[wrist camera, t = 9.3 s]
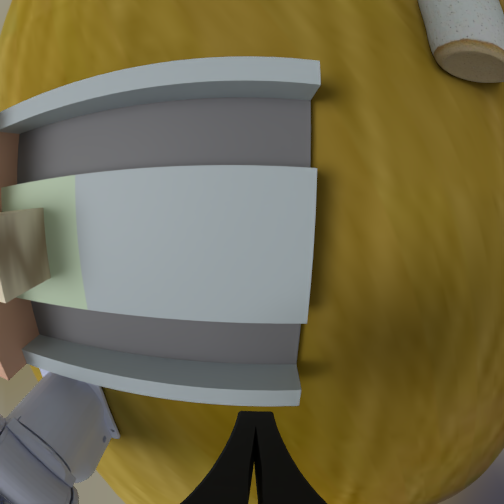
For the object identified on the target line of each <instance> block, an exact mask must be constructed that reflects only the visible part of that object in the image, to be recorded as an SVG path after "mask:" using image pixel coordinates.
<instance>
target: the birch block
mask: <svg viewBox="0 0 504 504" xmlns="http://www.w3.org/2000/svg"><path fill="white" fill-rule="evenodd" d="M50 278H51V275H50V269H49V262H48V255H47V247H46V238H45V226H44V211H43V208H32V209H22V210H13V211H4V212H0V302H3V303H7V302H9V301H11V300H12V299H14V298H16V297H17V296H19V295H21V294H23V293H24V292H26V291H28V290H30V289H32V288H33V287H35V286H37V285H39V284H41V283H42V282H44V281H46V280H48V279H50Z"/></svg>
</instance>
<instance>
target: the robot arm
mask: <svg viewBox="0 0 504 504" xmlns="http://www.w3.org/2000/svg"><path fill="white" fill-rule="evenodd" d="M39 369H40V371H41V374H42V376H43V378H42V379H41V380H40V381H39V382H38V383H37V385H36V386H35V387H34V388H33V389H32V390H31V391H30V392H29V393H28V394H27V395H26V396H25V398H23V400H22V401H21V402H20V403H19V404H18V405H17V406H16V407H15V408H14V410H13V411H12V412H11V413H10V414H9V415H8V416H7V417H6V418H3V416H2V415H1V414H0V504H11V503H12V504H79V497H78V492H77V490H76V488H75V487H74V486H73V484H74V483H79V482H82V481H84V480H86V479H88V478H89V477H90V476H91V475H92V474H93V473H94V471H95V469H96V467H97V465H98V463H99V461H100V459H101V457H102V455H103V453H104V451H105V449H106V447H107V445H108V443H109V441H110V440H111V438H115V439H119V438H120V434H119V432H118V429H117V427H116V424H115V422H114V420H113V417H112V415H111V412H110V410H109V407H108V404H107V402H106V399H105V396H104V393H103V390H102V388H101V386H98V385H94V384H90V383H86V382H82V381H79V380H75V379H72V378H68V377H65V376H62V375H59V374H55V373H52V372H49V371H46V370H44V369H41V368H39ZM254 464H255V475H256V486H257V496H258V504H327V503H326V502H325V501H324V500H323V499H322V498H321V497H320V496H319V495H318V494H317V493H316V491H315V490H314V489H313V488H312V487H311V485H310V484H309V483H308V482H307V480H306V479H305V478H304V476H303V475H302V474H301V472H300V471H299V469H298V468H297V466H296V464H295V463H294V461H293V459H292V458H291V456H290V454H289V452H288V450H287V448H286V446H285V444H284V442H283V440H282V438H281V436H280V433H279V431H278V428H277V425H276V422H275V419H274V414H273V413H272V412H256V411H240V412H239V413H238V416H237V420H236V423H235V426H234V429H233V431H232V433H231V436H230V438H229V440H228V442H227V444H226V446H225V448H224V449H223V451H222V453H221V455H220V456H219V458H218V459H217V461H216V463H215V464H214V466H213V467H212V469H211V470H210V471H209V473H208V474H207V475H206V477H205V478H204V479H203V480H202V482H201V483H200V484H199V485H198V486H197V487H196V488H195V490H194V491H193V492H192V493H191V494H190V495H189V496H188V497H187V498H186V499H185V500H184V501H183V502H181V503H180V504H248V500H249V493H250V486H251V479H252V472H253V465H254ZM5 498H6V499H5Z"/></svg>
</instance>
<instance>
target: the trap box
mask: <svg viewBox="0 0 504 504" xmlns="http://www.w3.org/2000/svg"><path fill="white" fill-rule="evenodd" d="M320 85H321V78H320V61H316V60H306V59H295V58H280V57H214V58H199V59H188V60H178V61H170V62H163V63H156V64H150V65H144V66H138V67H133V68H128V69H123V70H119V71H114V72H110V73H106V74H102V75H98V76H95V77H91V78H87V79H84V80H80V81H77V82H74V83H71V84H68V85H65V86H62V87H59V88H56V89H53V90H50V91H48V92H45V93H43V94H40V95H37V96H35V97H33V98H30V99H28V100H25V101H23V102H21V103H19V104H16V105H14V106H12V107H10V108H8V109H6V110H4V111H2V112H0V212H4V211H13V210H22V209H32V208H43V211H44V226H45V238H46V247H47V255H48V262H49V269H50V275H51V278H50V279H48V280H46V281H44V282H42V283H41V284H39V285H37V286H35V287H33V288H32V289H30V290H28V291H26V292H24V293H23V294H21V295H19V296H17V297H16V298H14V299H12V300H11V301H9V302H7V303H3V302H0V376H1V377H2V378H4V379H7V380H10V378H12V377H13V376H14V375H15V374H16V373H17V372H18V371H19V370H20V369H21V368H22V367H24V366H25V365H26V364H30V365H32V366H35V367H38V368H41V369H44V370H46V371H49V372H52V373H55V374H59V375H62V376H65V377H68V378H72V379H75V380H79V381H82V382H86V383H90V384H94V385H98V386H102V387H106V388H110V389H115V390H119V391H124V392H129V393H134V394H140V395H145V396H151V397H157V398H164V399H171V400H179V401H187V402H196V403H207V404H220V405H238V406H299V401H300V395H301V386H300V380H299V375H298V370H297V365H296V362H297V354H298V345H299V336H300V327H301V324H307V318H308V308H309V298H310V287H311V276H312V263H313V249H314V233H315V215H316V191H317V168H310V163H311V99H312V97H313V96H314V94H315V93H316V91H317V90H318V88H319V87H320Z"/></svg>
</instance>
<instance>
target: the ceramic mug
mask: <svg viewBox="0 0 504 504" xmlns="http://www.w3.org/2000/svg"><path fill="white" fill-rule="evenodd" d="M418 3H419V7H420V10H421V14H422V17H423V20H424V23H425V27H426V32H427V37H428V41H429V45H430V48H431V51H432V54H433V56H434V58H435V60H436V62H437V63H438V65H440V66H441V67H442V68H443V69H444V70H445V71H447V72H448V73H450V74H452V75H454V76H456V77H458V78H462V79H465V80H468V81H474V82H482V83H495V82H503V81H504V14H503V11H502V8H501V6H500V3H499V0H418Z"/></svg>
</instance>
